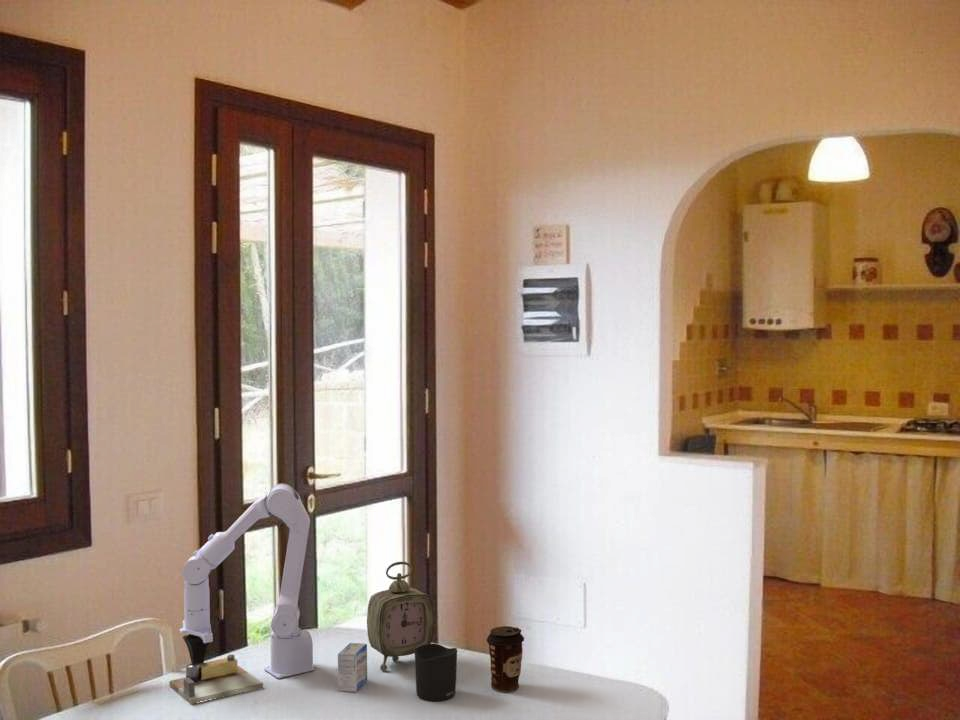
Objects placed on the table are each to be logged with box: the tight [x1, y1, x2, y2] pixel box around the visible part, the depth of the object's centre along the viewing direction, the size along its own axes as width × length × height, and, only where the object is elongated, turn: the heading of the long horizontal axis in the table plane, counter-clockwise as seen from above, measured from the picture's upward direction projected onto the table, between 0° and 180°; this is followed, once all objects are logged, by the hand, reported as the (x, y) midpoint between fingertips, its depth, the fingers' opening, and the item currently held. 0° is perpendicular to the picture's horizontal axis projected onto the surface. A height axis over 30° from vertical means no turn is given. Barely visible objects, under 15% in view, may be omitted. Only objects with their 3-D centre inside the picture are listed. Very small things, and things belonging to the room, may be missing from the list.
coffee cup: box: [486, 625, 525, 693], centre depth 214 cm, size 9×8×13 cm
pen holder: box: [414, 643, 458, 702], centre depth 210 cm, size 9×9×10 cm
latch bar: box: [185, 654, 238, 682], centre depth 218 cm, size 12×3×4 cm, turn 127°
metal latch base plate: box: [169, 665, 264, 705], centre depth 215 cm, size 16×14×4 cm
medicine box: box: [337, 642, 368, 693], centre depth 216 cm, size 8×4×9 cm, turn 168°
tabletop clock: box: [366, 561, 435, 672], centre depth 230 cm, size 14×9×25 cm, turn 120°
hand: (197, 665), depth 223 cm, fingers closed
